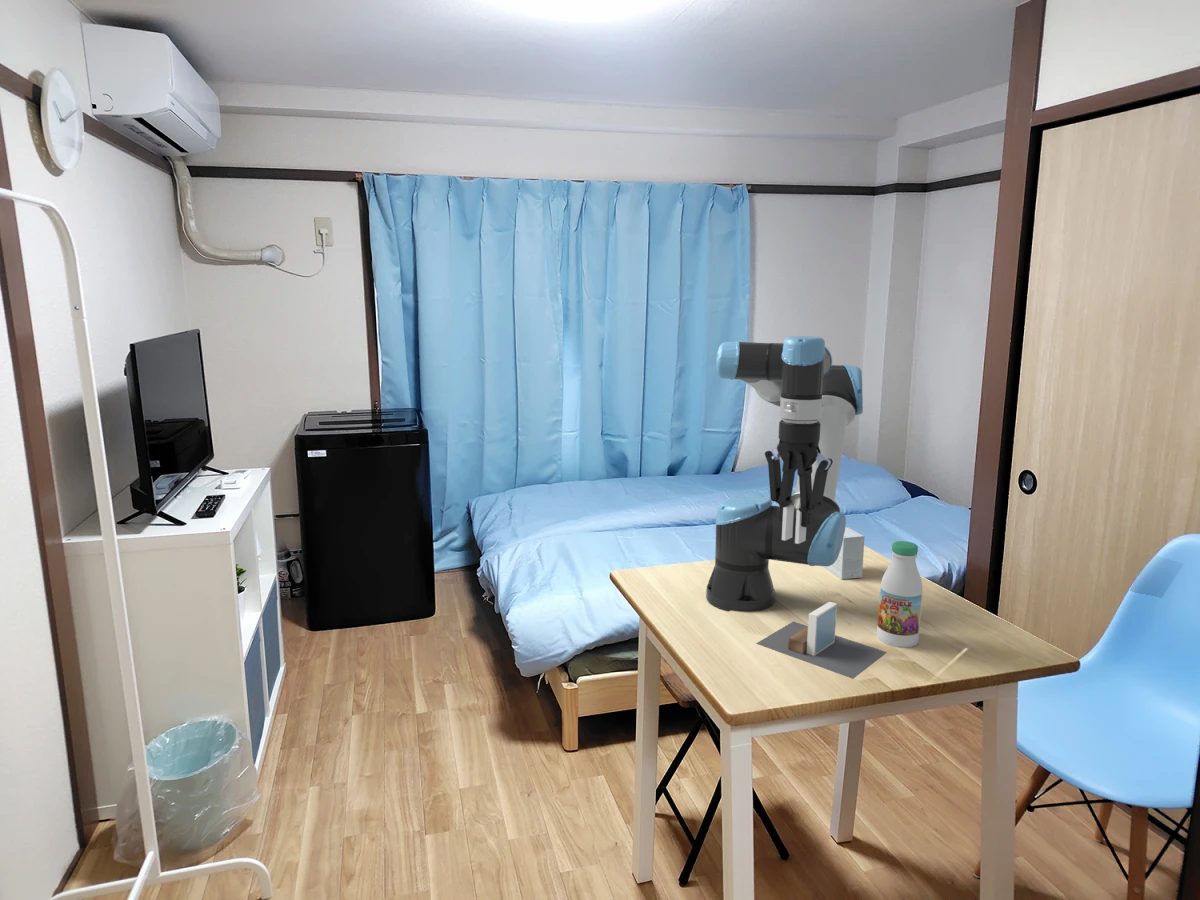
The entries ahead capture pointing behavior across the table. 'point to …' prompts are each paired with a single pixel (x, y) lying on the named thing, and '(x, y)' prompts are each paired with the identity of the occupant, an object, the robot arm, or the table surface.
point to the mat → (827, 652)
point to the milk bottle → (900, 598)
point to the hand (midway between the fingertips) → (793, 540)
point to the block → (799, 641)
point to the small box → (849, 556)
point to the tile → (821, 628)
